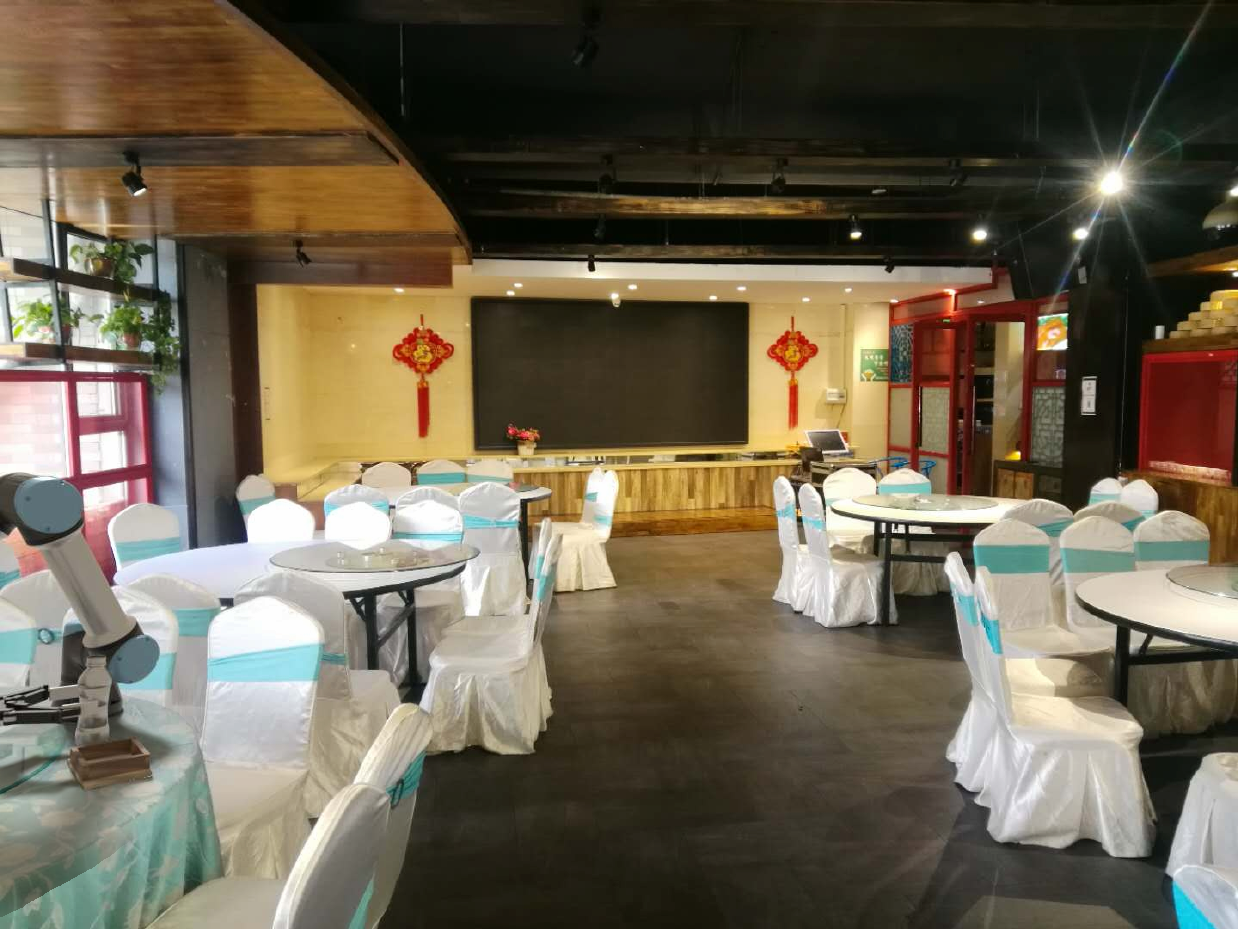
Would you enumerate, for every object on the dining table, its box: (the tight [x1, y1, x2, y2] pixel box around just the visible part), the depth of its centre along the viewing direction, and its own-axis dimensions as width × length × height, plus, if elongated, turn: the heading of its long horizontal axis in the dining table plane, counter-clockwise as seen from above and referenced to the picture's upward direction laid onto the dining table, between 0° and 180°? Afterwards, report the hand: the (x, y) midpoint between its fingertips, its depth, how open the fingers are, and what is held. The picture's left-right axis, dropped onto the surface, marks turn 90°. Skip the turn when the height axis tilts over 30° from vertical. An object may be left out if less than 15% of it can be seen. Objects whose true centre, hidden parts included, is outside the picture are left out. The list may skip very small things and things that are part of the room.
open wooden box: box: [67, 736, 153, 791], centre depth 174 cm, size 16×12×4 cm
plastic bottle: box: [74, 655, 112, 746], centre depth 185 cm, size 6×7×20 cm
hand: (90, 698), depth 185 cm, fingers open, 13 cm apart
